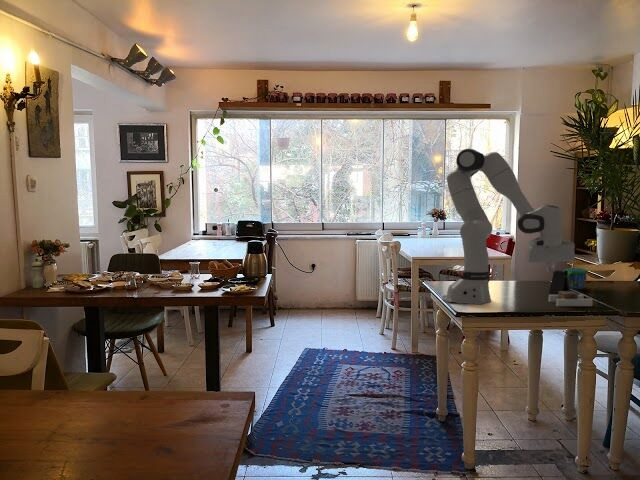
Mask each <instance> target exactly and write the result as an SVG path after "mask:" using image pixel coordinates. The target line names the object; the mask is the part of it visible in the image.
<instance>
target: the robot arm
mask: <svg viewBox="0 0 640 480" xmlns="http://www.w3.org/2000/svg"><path fill="white" fill-rule="evenodd" d="M455 162H456V166H457V167H456V168H455V170H452V171H451V172H449V173H448V174H447V176H446V183H447V184H446V185H447V188H448V190H449V195H450V197H451V200H452V203H453V205H454V209H455V211H456V213H457V214H458V215H459V217H460V218H461V220H462V221H463V224H462V225H461V227H460V230H459V235H460V238H461V241H462V242H461V243H462V248H463V256H464V257H463V270H457V271H456V273H457V275H458V276H459V278H458V279H456V281H454V282H453V283H451V284H449V286H448V288H447V292H446V294H444V295H442V300H443V301H444V302H445V303H448V302H457V303H456V304H463V303H467V305H470V304H471V305H484V304H485V303H489V302H491V301H492V298H491V294H490V286H489V285H490V284H489V283H490V271H489V253H488V247H487V239H488V238H490V236H491V235H492V232H493V224H492V223H491V222H490V220H489V218H488V216H487V213H485V210H484V209H483V207H482V205H481V204H480V201H479V199H478V196H477V193H476V191H475V188H474V186H473V184H472V178H471V177H473V176H474V175H475V174H477V173H478V172H482V173H483V174H484V175H485V177H486V178H487V180H488V182H489V183H490V185H491V186H492V187H493V189H494V190H495V191H496V192H497V193H498V194H500V195H502V196H504V197H506V198H507V199H508V200H509V201H510V202H511V203H512V205H513V206H514V208H515V210H516V211H517V213H518V215H519V217H518V220H517V227H518V229H519V231H521V233H524V234H526V235H528V234H529V235H531V234H535V233H539V237H536V238H533V239H530V240H529V241H528V244H529V246H528V247H527V250H526V261H527V262H529V263H543V265H544V267H545V268H546V269H545V270H546V272H547V273H553V272H554V271H555V269H556V267H557V265H558V262H559V263H560V262H561V263H562V262H563V263H564V262H575V259H576V255H575V253H576V252H575V246H576V245H575V243H574V241H572V240H562V239H563V235H562V230H561V229H562V225H563V222H562V221H563V218H562V217H563V216H562V214H563V213H562V210H561V208H559V206H556V205H551V204H543V205H541V206H539V207H538V208H536V209H535V208H533V207H532V205H531V204H530V203H529V201H528V199H527V198H526V196H525V194H524V193H523V192H522V189H521V187H520V185H519V182H518V179H517V177H516V175H515V173H514V171H513V169H512V168H511V166H510V165H509V163H508V162H507V160H506V158H504V157H503V156H502V154H500V153H499V152H497V151H492V152H489V153H486V154H483V153H481V152H480V151H477V150H476V149H475V148H474V149H473V148H463V149H462V150H460V151H459V153H457V156H456V160H455ZM550 263H551V264H552V266H551V267H549V265H550Z"/></svg>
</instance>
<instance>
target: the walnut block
mask: <svg viewBox="0 0 640 480" xmlns="http://www.w3.org/2000/svg"><path fill="white" fill-rule="evenodd" d="M557 295H558V299H578V295H579V293H578V292H577V293H576V292H574V291H573V290H570V291H559V292H558V294H557Z"/></svg>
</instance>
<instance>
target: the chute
mask: <svg viewBox="0 0 640 480" xmlns="http://www.w3.org/2000/svg"><path fill="white" fill-rule="evenodd" d="M584 296H585V295H584V294H578V299H558V294H548V302H549V303H551V304H553V305H555V306H556V307H593V302H594V301H593V298H584Z"/></svg>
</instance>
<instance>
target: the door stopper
mask: <svg viewBox="0 0 640 480" xmlns="http://www.w3.org/2000/svg"><path fill="white" fill-rule="evenodd" d="M551 278H552V279H551V283H550V288H549V291H548V293H549V294H550V295H558V292H559V291H571V289H570V287H569V281H568V271H567V270H565V269H559V268H555V271H554V272H552V277H551Z"/></svg>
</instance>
